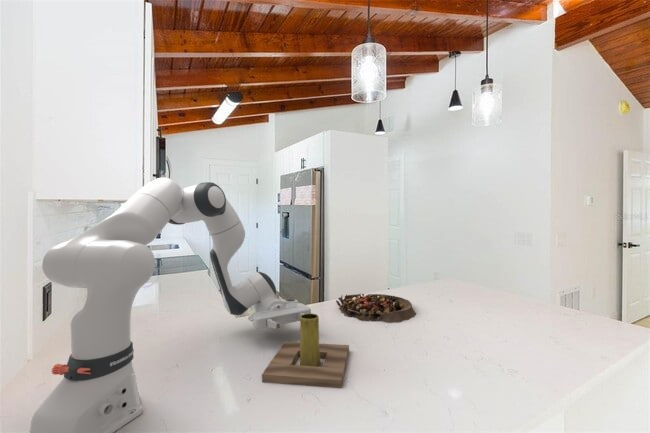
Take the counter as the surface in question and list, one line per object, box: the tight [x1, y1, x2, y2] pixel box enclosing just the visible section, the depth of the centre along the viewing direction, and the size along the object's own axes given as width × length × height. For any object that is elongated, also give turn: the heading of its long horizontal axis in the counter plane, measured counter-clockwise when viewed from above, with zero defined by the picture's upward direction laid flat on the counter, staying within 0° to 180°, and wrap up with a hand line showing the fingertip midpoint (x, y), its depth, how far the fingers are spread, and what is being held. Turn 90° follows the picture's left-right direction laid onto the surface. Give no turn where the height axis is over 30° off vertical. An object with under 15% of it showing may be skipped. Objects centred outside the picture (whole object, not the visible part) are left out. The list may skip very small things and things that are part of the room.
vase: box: [299, 312, 322, 367], centre depth 93 cm, size 6×6×14 cm
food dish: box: [335, 293, 417, 324], centre depth 142 cm, size 35×33×8 cm
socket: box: [261, 341, 350, 389], centre depth 93 cm, size 21×21×2 cm
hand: (291, 323), depth 103 cm, fingers open, 8 cm apart
